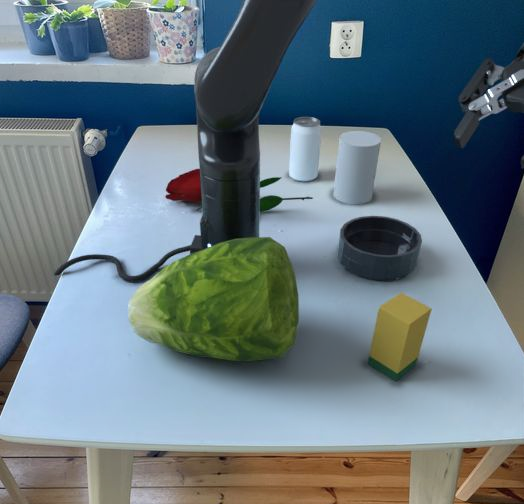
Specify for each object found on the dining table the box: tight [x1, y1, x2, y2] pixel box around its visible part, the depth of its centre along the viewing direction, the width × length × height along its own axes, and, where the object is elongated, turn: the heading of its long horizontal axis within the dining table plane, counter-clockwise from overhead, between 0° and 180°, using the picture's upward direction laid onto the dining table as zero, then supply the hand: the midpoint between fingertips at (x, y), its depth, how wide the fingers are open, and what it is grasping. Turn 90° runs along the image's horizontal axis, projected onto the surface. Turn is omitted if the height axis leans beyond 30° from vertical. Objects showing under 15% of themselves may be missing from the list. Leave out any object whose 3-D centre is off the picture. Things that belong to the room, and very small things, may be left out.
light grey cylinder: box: [333, 130, 382, 205], centre depth 110 cm, size 8×8×12 cm
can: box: [288, 116, 322, 183], centre depth 117 cm, size 6×6×12 cm
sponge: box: [367, 292, 433, 382], centre depth 72 cm, size 5×5×10 cm
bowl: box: [337, 215, 423, 282], centre depth 94 cm, size 14×14×5 cm
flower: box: [164, 168, 314, 213], centre depth 106 cm, size 9×10×30 cm
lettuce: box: [127, 236, 300, 362], centre depth 73 cm, size 17×23×16 cm
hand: (490, 154), depth 64 cm, fingers open, 8 cm apart
